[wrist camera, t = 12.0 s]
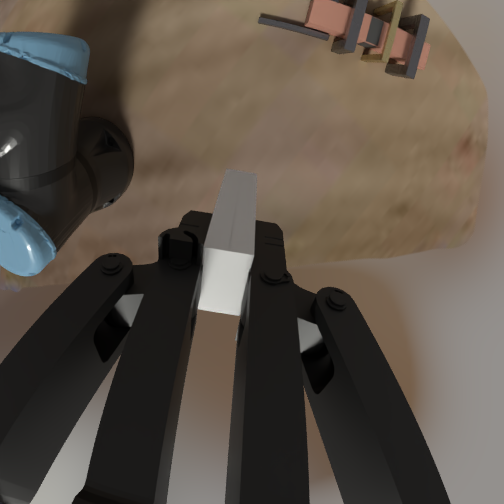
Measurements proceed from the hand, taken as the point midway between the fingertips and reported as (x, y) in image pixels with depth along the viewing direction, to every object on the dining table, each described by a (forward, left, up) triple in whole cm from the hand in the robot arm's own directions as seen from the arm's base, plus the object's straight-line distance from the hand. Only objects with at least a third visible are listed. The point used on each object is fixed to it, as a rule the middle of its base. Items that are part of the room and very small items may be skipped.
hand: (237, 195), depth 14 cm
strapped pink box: (+12, +16, -27) cm, 33 cm away
